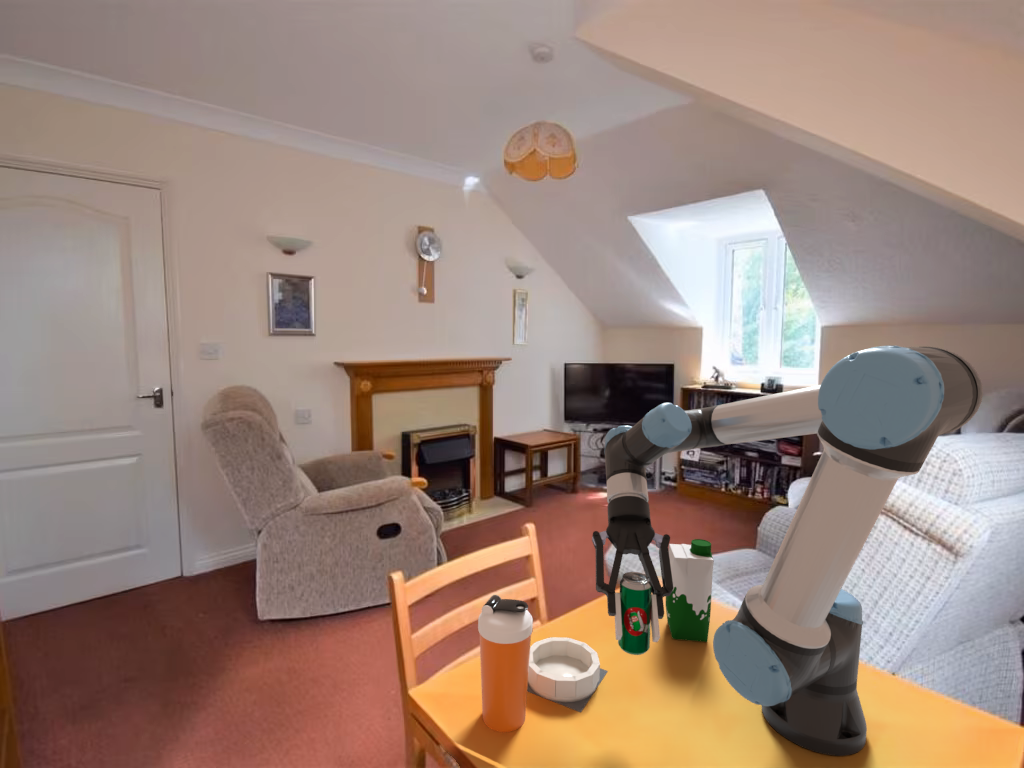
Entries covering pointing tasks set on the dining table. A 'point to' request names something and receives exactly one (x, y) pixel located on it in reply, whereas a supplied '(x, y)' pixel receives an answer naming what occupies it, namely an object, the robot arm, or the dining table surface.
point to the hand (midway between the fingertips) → (637, 638)
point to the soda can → (635, 612)
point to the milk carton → (690, 590)
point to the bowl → (563, 669)
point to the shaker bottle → (504, 662)
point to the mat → (577, 704)
